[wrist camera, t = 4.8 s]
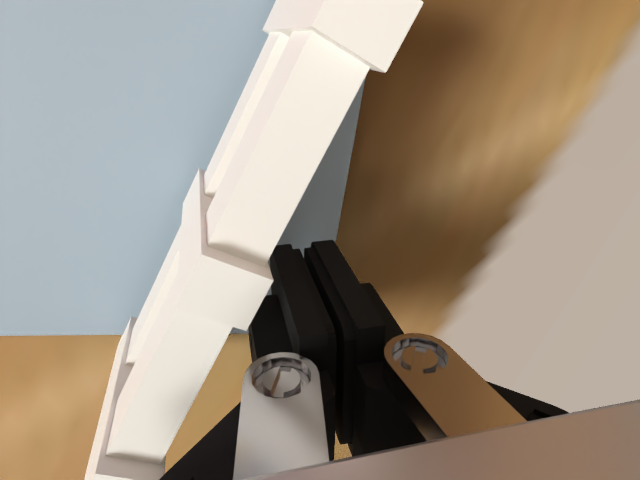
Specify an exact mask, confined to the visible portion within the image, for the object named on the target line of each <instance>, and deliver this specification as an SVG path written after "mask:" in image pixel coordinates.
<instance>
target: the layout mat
mask: <svg viewBox="0 0 640 480" xmlns="http://www.w3.org/2000/svg"><path fill="white" fill-rule="evenodd" d="M275 1H276V0H0V336H20V335H123V333H124V331H125V329H126V327H127V324H128V322H129V320H130V318H131V316H132V317H136V318H138V317H139V314H140V312H141V310H142V308H143V306H144V304H145V301H146V299H147V297H148V295H149V293H150V291H151V288H152V286H153V284H154V282H155V280H156V278H157V275H158V273H159V271H160V269H161V267H162V265H163V263H164V260H165V258H166V256H167V254H168V252H169V250H170V247H171V245H172V243H173V241H174V239H175V237H176V234H177V232H178V230H179V228H180V226H181V222H182V209H183V202H184V200H185V198H186V196H187V193H188V191H189V189H190V187H191V185H192V182H193V180H194V178H195V176H196V174H197V172H198V169H199V168H200V169H203V170H205V171H206V170H207V167H208V165H209V163H210V161H211V159H212V157H213V154H214V152H215V150H216V148H217V146H218V144H219V141H220V139H221V137H222V135H223V133H224V131H225V128H226V126H227V124H228V122H229V120H230V118H231V116H232V113H233V111H234V109H235V107H236V105H237V103H238V100H239V98H240V96H241V94H242V92H243V90H244V87H245V85H246V83H247V81H248V79H249V77H250V74H251V72H252V70H253V68H254V66H255V64H256V61H257V59H258V57H259V55H260V53H261V51H262V48H263V46H264V44H265V42H266V40H267V38H268V36H269V34H267V33H265V32H264V31H262V29H263V27H264V25H265V23H266V21H267V19H268V16H269V14H270V12H271V10H272V8H273V5H274V3H275ZM365 78H366V77H365ZM365 78H364V80H363V82H362V84H361V86H360V88H359V90H358V92H357V94H356V95H355V97H354V99H353V101H352V103H351V105H350V107H349V109H348V111H347V112H346V114H345V116H344V118H343V120H342V122H341V124H340V126H339V128H338V129H337V131H336V133H335V135H334V137H333V139H332V141H331V143H330V145H329V146H328V148H327V150H326V152H325V154H324V156H323V158H322V160H321V162H320V163H319V165H318V167H317V169H316V171H315V173H314V175H313V177H312V179H311V180H310V182H309V184H308V186H307V188H306V190H305V192H304V194H303V195H302V197H301V199H300V201H299V203H298V205H297V207H296V209H295V211H294V212H293V214H292V216H291V218H290V220H289V222H288V224H287V226H286V228H285V229H284V231H283V233H282V235H281V237H280V239H279V241H278V243H277V245H284V244H291V245H292V248H293V249H300V251H301V253H302V255H303V258H304V248H308V247H311V243H312V242H314V241H324V240H333V241H334V242H336V237H337V231H338V226H339V220H340V215H341V209H342V204H343V198H344V193H345V188H346V182H347V177H348V171H349V166H350V160H351V155H352V149H353V144H354V138H355V133H356V127H357V122H358V116H359V111H360V105H361V100H362V94H363V89H364V83H365ZM268 264H269V268H270V258H269V260H268ZM266 295H271V286H270V288H269V290H268V292H267V294H266ZM229 334H249V331H248V329H247V331H245V330H241V329H238V328H235V327H233V328H232V330H231V331H230V333H229Z"/></svg>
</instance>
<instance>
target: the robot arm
mask: <svg viewBox="0 0 640 480" xmlns="http://www.w3.org/2000/svg"><path fill="white" fill-rule="evenodd" d="M270 271H271V274H272V277H273V280H274V281H273V283H272V284H271V295H266V296H265V297H264V299H263V301H262V303H261V305H260V307H259V309H258V310H257V312H256V314H255V316H254V318H253V320H252V321H251V323H250V325H249V327H248V331H249V341H250V349H251V357H252V364H251V365H250V366H249V367H248V369H247V370H246V372H245V375H244V378H243V386H242V396H241V402H240V403H239V404H238V405H237V406H236V407H235V408H234V409H233V410H232V411H230V412H229V413H228V414H227V415H226V416H225V417H224V418H223V419H222V420H221V421H220V422H219V423H218V424H217V425H216V426H215V427H214V428H213V429H212V430H211V431H209V432H208V433H207V434H206V435H205V436H204V437H203V438H202V439H201V440H200V441H199V442H198V443H197V444H196V445H195V446H194V447H193V448H192V449H191V450H190V451H188V452H187V453H186V454H185V455H184V456H183V457H182V458H181V459H180V460H179V461H178V462H177V463H176V464H175V465H174V466H173V467H172V468H171V469H170V470H169V471H168V472H166V473H165V474H164V475H163V476H162V477H161V478H160V479H159V480H640V400H636V401H630V402H625V403H620V404H615V405H609V406H605V407H599V408H593V409H588V410H583V411H578V412H573V413H568V412H566V411H565V410H562V409H560V408H558V407H556V406H553V405H551V404H548V403H545V402H542V401H540V400H537V399H534V398H531V397H529V396H525V395H523V394H520V393H517V392H514V391H512V390H509V389H506V388H503V387H501V386H498V385H495V384H492V383H490V382H487V381H485V380H484V379H483V378H482V377H481V376H480V375H478V373H477V372H475V370H474V369H472V368H471V367H470V366H469V365H468V364H467V363H466V362H465V361H464V360H463V359H462V358H461V357H460V356H459V355H458V354H457V353H456V352H455V351H454V350H453V349H452V348H451V347H450V346H448V345H447V344H446V343H444V342H443V341H442V340H440V339H437V338H435V337H433V336H429V335H425V334H420V333H408V334H404V333H403V331H402V330H401V328H400V327H399V325H398V324H397V322H396V321H395V319H394V318H393V316H392V315H391V313H390V312H389V310H388V309H387V307H386V306H385V304H384V303H383V301H382V300H381V298H380V297H379V295H378V294H377V292H376V291H375V289H374V287H373V286H372V285H371V284H370V283H363V284H360V283H359V281H358V279H357V278H356V276H355V275H354V273H353V271H352V270H351V268H350V267H349V265H348V263H347V262H346V260H345V258H344V257H343V255H342V254H341V252H340V250H339V249H338V247H337V246H336V244H335V242H334V241H333V240H324V241H314V242H312V243H311V247H308V248H304V258H303V255H302V253H301V251H300V249H293V248H292V245H291V244H284V245H276V246H275V248H274V250H273V252H272V254H271V256H270ZM335 431H336V434H337V437H338V440H339V443H340V444H346V443H348V446H349V449H350V451H351V454H352V457H348V458H343V459H338V460H334V461H333V459H334V445H335Z"/></svg>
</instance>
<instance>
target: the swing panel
mask: <svg viewBox="0 0 640 480" xmlns="http://www.w3.org/2000/svg"><path fill="white" fill-rule="evenodd" d="M423 3H424V2H422V1H421V0H276V1H275V3H274V5H273V8H272V10H271V12H270V14H269V16H268V19H267V21H266V23H265V25H264V27H263V29H262V31H264V32H265V33H267V34H269V36H268V38H267V40H266V42H265V44H264V46H263V48H262V51H261V53H260V55H259V57H258V59H257V61H256V64H255V66H254V68H253V70H252V72H251V74H250V77H249V79H248V81H247V83H246V85H245V87H244V90H243V92H242V94H241V96H240V98H239V100H238V103H237V105H236V107H235V109H234V111H233V113H232V116H231V118H230V120H229V122H228V124H227V126H226V128H225V131H224V133H223V135H222V137H221V139H220V141H219V144H218V146H217V148H216V150H215V152H214V154H213V157H212V159H211V161H210V163H209V165H208V167H207V170H206V171H205V170H203V169H200V168H199V169H198V172H197V174H196V176H195V178H194V180H193V182H192V185H191V187H190V189H189V191H188V193H187V196H186V198H185V200H184V202H183V209H182V222H181V226H180V228H179V230H178V232H177V234H176V237H175V239H174V241H173V243H172V245H171V247H170V250H169V252H168V254H167V256H166V258H165V260H164V263H163V265H162V267H161V269H160V271H159V273H158V275H157V278H156V280H155V282H154V284H153V286H152V288H151V291H150V293H149V295H148V297H147V299H146V301H145V304H144V306H143V308H142V310H141V312H140V314H139V317H138V318H136V317H132V316H131V318H130V320H129V322H128V324H127V327H126V329H125V331H124V333H123V335H122V338H121V340H120V342H119V344H118V347H117V351H116V355H115V359H114V363H113V367H112V371H111V375H110V379H109V383H108V387H107V391H106V395H105V399H104V403H103V407H102V411H101V415H100V419H99V423H98V427H97V431H96V435H95V439H94V443H93V447H92V451H91V455H90V458H89V462H88V466H87V470H86V474H85V478H84V480H159V479H160V478H161V477H162V476H163V475H164V472H165V458H166V452H167V450H168V448H169V447H170V445H171V443H172V441H173V439H174V437H175V435H176V433H177V431H178V430H179V428H180V426H181V424H182V422H183V420H184V418H185V416H186V414H187V413H188V411H189V409H190V407H191V405H192V403H193V401H194V399H195V397H196V396H197V394H198V392H199V390H200V388H201V386H202V384H203V382H204V380H205V379H206V377H207V375H208V373H209V371H210V369H211V367H212V365H213V363H214V362H215V360H216V358H217V356H218V354H219V352H220V350H221V348H222V346H223V345H224V343H225V341H226V339H227V337H228V335H229V333H230V331H231V330H232V328H233V327H235V328H238V329H241V330H245V331H247V329H248V327H249V325H250V323H251V321H252V320H253V318H254V316H255V314H256V312H257V310H258V309H259V307H260V305H261V303H262V301H263V299H264V297H265V296H266V294H267V292H268V290H269V288H270V286H271V284H272V283H273V281H274V280H273V277H272V274H271V271H270V268H269V264H268V260H269V258H270V256H271V254H272V252H273V250H274V248H275V246H276V245H277V243H278V241H279V239H280V237H281V235H282V233H283V231H284V229H285V228H286V226H287V224H288V222H289V220H290V218H291V216H292V214H293V212H294V211H295V209H296V207H297V205H298V203H299V201H300V199H301V197H302V195H303V194H304V192H305V190H306V188H307V186H308V184H309V182H310V180H311V179H312V177H313V175H314V173H315V171H316V169H317V167H318V165H319V163H320V162H321V160H322V158H323V156H324V154H325V152H326V150H327V148H328V146H329V145H330V143H331V141H332V139H333V137H334V135H335V133H336V131H337V129H338V128H339V126H340V124H341V122H342V120H343V118H344V116H345V114H346V112H347V111H348V109H349V107H350V105H351V103H352V101H353V99H354V97H355V95H356V94H357V92H358V90H359V88H360V86H361V84H362V82H363V80H364V78H365V77H366V75H367V73H368V71H369V70H374V71H379V72H384V73H386V72H387V70H388V68H389V66H390V64H391V62H392V61H393V59H394V57H395V55H396V53H397V51H398V49H399V48H400V46H401V44H402V42H403V40H404V38H405V36H406V35H407V33H408V31H409V29H410V27H411V25H412V24H413V22H414V20H415V18H416V16H417V14H418V12H419V11H420V9H421V7H422V5H423Z"/></svg>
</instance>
